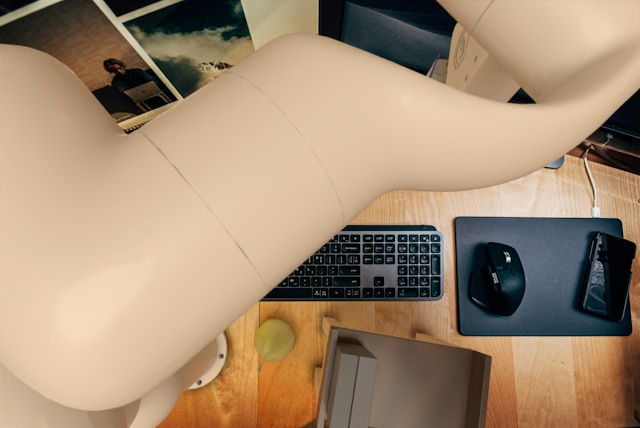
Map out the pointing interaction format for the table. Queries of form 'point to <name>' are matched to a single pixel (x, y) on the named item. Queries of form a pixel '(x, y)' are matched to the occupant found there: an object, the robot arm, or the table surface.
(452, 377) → the brown shallow tray
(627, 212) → the table surface
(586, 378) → the table surface
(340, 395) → the grey book
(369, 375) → the grey book
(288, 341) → the fruit
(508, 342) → the table surface
